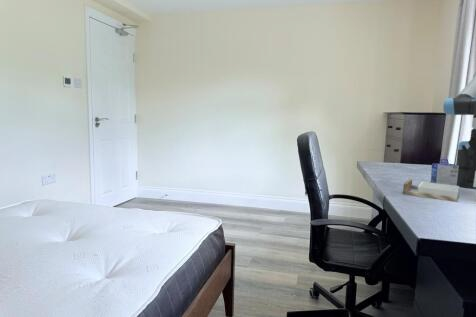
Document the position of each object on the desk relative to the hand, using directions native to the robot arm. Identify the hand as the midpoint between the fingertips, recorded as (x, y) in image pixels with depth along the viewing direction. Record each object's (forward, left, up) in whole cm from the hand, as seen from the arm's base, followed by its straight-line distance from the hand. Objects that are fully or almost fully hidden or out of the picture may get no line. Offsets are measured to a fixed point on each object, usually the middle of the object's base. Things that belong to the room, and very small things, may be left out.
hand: (475, 186), depth 133 cm
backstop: (+10, -12, -6) cm, 17 cm away
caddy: (+8, -10, -6) cm, 14 cm away
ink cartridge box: (-5, -20, -6) cm, 21 cm away
